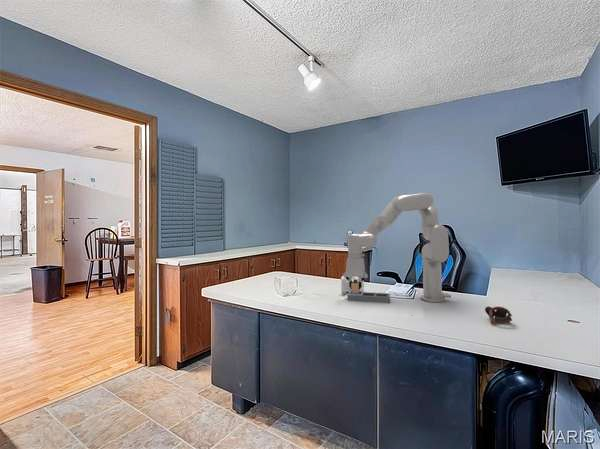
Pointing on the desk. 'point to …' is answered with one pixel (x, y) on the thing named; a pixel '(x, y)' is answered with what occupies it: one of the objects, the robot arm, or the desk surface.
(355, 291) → the plug
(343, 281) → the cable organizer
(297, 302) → the desk surface
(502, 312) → the brown turtle figurine
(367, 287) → the desk surface
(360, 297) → the grey compartment tray
